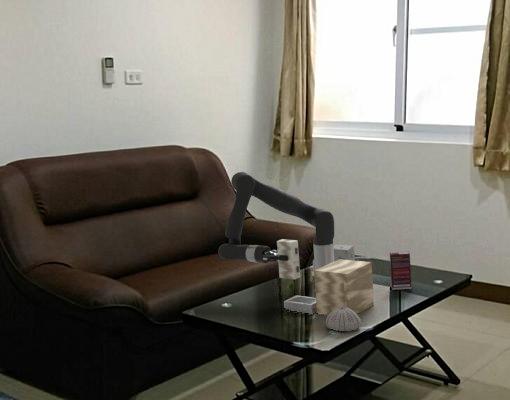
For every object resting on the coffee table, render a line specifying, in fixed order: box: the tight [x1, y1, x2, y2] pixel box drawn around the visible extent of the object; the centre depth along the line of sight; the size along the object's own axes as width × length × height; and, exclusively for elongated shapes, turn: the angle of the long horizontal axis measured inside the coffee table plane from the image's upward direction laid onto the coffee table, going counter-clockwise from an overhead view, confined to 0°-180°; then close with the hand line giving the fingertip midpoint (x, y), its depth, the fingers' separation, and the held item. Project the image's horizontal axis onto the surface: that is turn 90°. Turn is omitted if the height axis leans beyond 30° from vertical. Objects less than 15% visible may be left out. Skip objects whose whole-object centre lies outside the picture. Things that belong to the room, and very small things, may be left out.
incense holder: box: [333, 244, 356, 262], centre depth 394 cm, size 10×8×10 cm
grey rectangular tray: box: [283, 295, 317, 315], centre depth 327 cm, size 13×9×4 cm
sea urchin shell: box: [325, 307, 362, 332], centre depth 299 cm, size 13×14×8 cm
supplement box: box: [389, 251, 413, 291], centre depth 347 cm, size 9×5×16 cm, turn 84°
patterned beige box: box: [311, 259, 375, 316], centre depth 323 cm, size 17×20×18 cm
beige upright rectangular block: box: [276, 238, 301, 280], centre depth 337 cm, size 9×4×16 cm, turn 53°
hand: (290, 257), depth 337 cm, fingers closed on beige upright rectangular block, 4 cm apart
